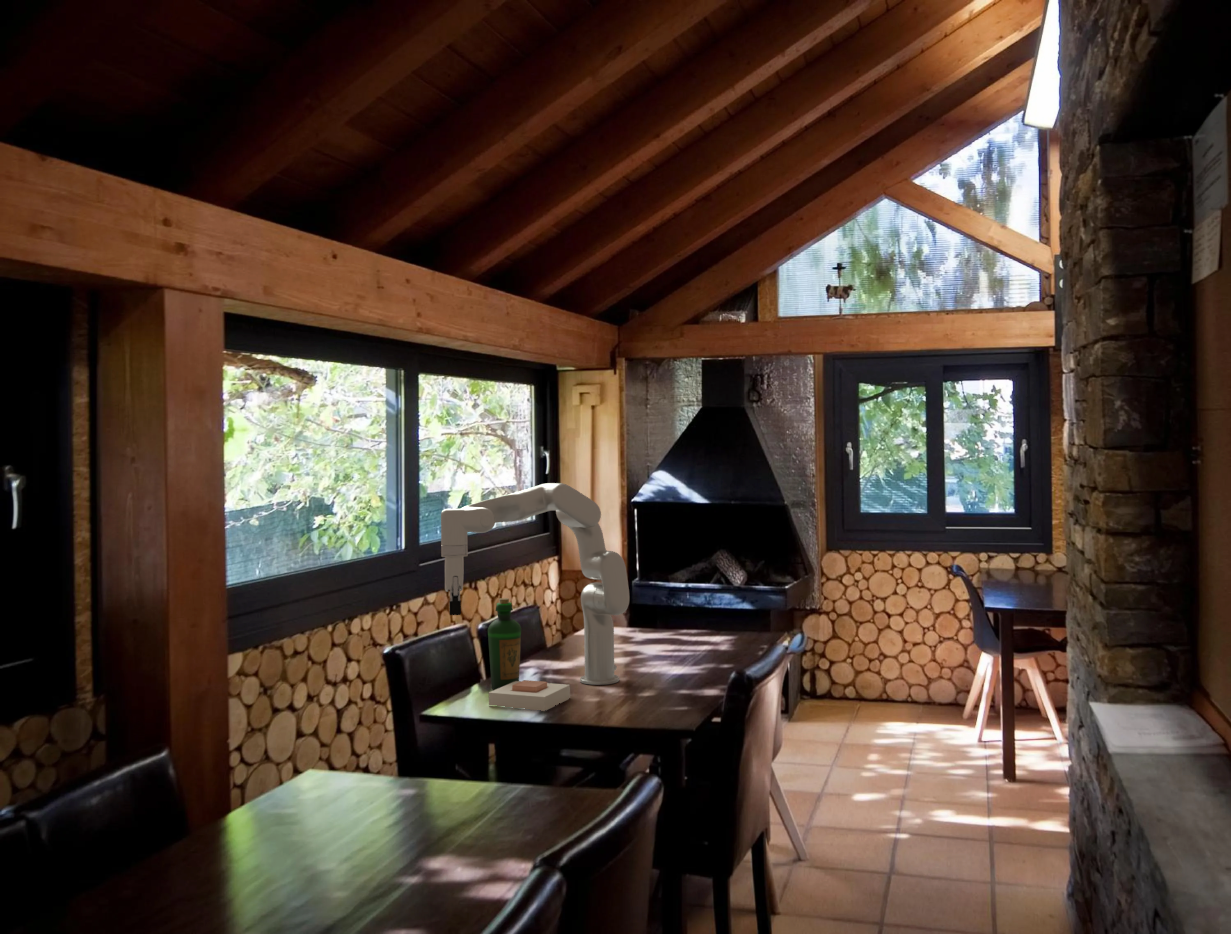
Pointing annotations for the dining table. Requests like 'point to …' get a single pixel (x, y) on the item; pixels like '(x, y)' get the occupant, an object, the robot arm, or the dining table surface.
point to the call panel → (530, 697)
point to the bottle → (504, 646)
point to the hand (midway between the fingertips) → (455, 614)
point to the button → (529, 686)
